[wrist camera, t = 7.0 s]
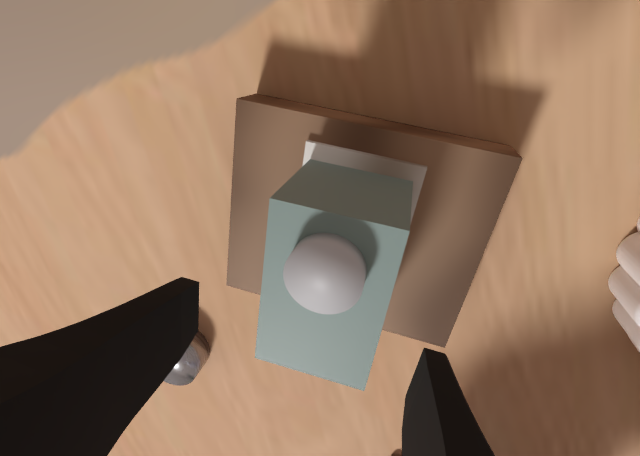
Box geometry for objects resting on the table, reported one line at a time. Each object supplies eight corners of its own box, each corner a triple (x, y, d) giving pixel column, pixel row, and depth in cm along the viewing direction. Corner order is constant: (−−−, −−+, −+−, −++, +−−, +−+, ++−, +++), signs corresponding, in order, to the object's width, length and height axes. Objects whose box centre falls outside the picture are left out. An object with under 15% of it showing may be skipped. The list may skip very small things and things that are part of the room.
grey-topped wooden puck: (211, 329, 26) (196, 349, 24) (210, 370, 28) (196, 392, 26) (159, 313, 27) (140, 332, 25) (161, 355, 28) (144, 375, 27)
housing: (377, 312, 19) (361, 408, 14) (292, 289, 20) (246, 372, 15) (413, 181, 16) (408, 242, 11) (310, 159, 17) (260, 207, 11)
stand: (510, 145, 17) (524, 160, 15) (442, 320, 21) (444, 351, 19) (256, 93, 18) (233, 99, 16) (243, 265, 23) (224, 288, 21)
